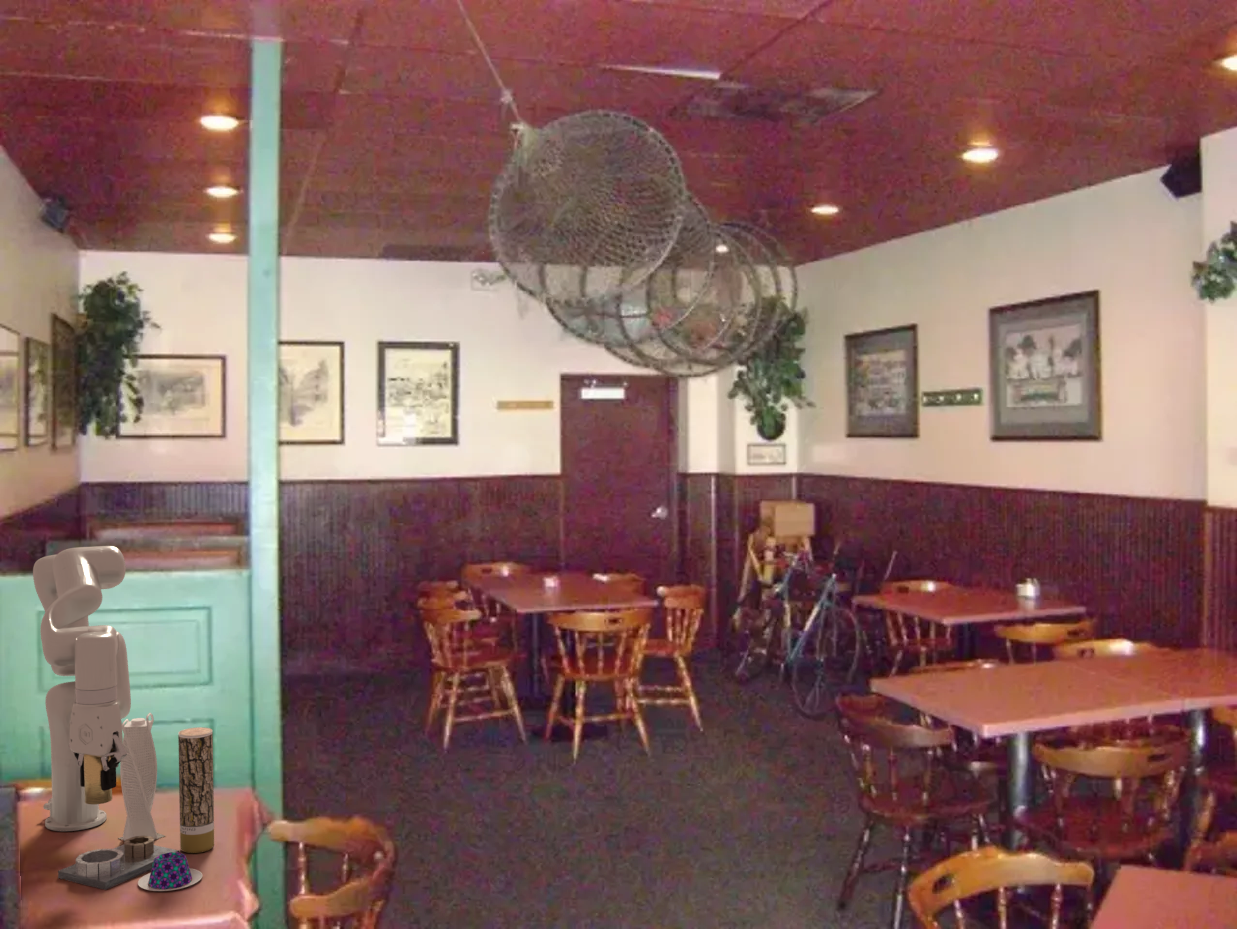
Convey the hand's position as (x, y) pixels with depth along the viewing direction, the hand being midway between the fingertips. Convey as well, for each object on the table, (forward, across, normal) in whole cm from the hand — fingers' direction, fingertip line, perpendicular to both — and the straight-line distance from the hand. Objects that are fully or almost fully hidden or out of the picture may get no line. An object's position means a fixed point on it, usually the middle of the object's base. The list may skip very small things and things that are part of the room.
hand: (98, 786), depth 252 cm
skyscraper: (+19, -9, +19) cm, 28 cm away
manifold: (+18, 0, +5) cm, 19 cm away
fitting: (+3, 0, 0) cm, 3 cm away
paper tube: (+18, +6, +20) cm, 28 cm away
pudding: (+19, +14, +5) cm, 24 cm away
